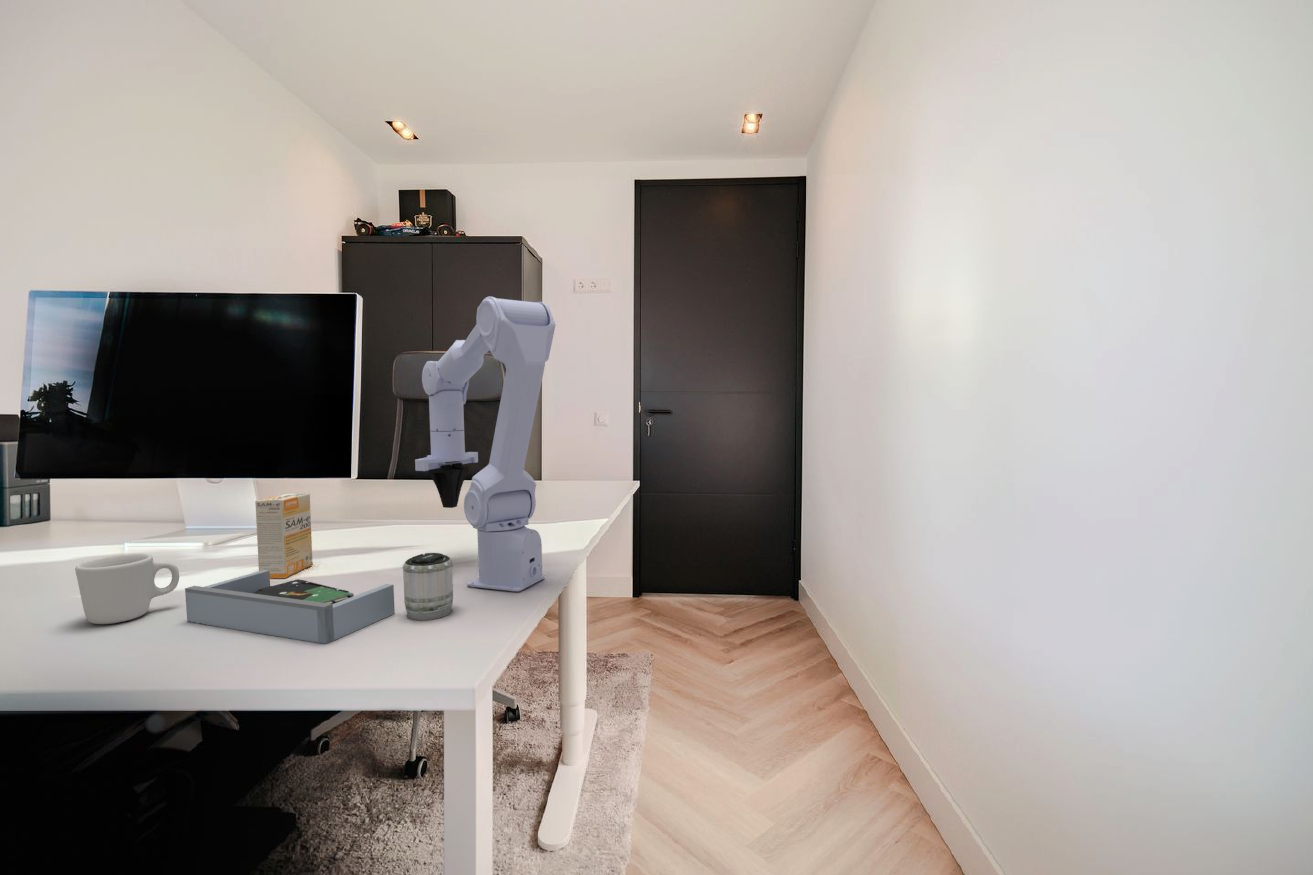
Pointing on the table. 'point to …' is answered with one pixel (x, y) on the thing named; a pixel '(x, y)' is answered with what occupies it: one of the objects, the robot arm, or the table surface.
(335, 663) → the table surface
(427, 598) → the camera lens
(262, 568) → the supplement box
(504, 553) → the robot arm
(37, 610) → the table surface
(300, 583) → the disk drive
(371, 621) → the frame
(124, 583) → the cup
